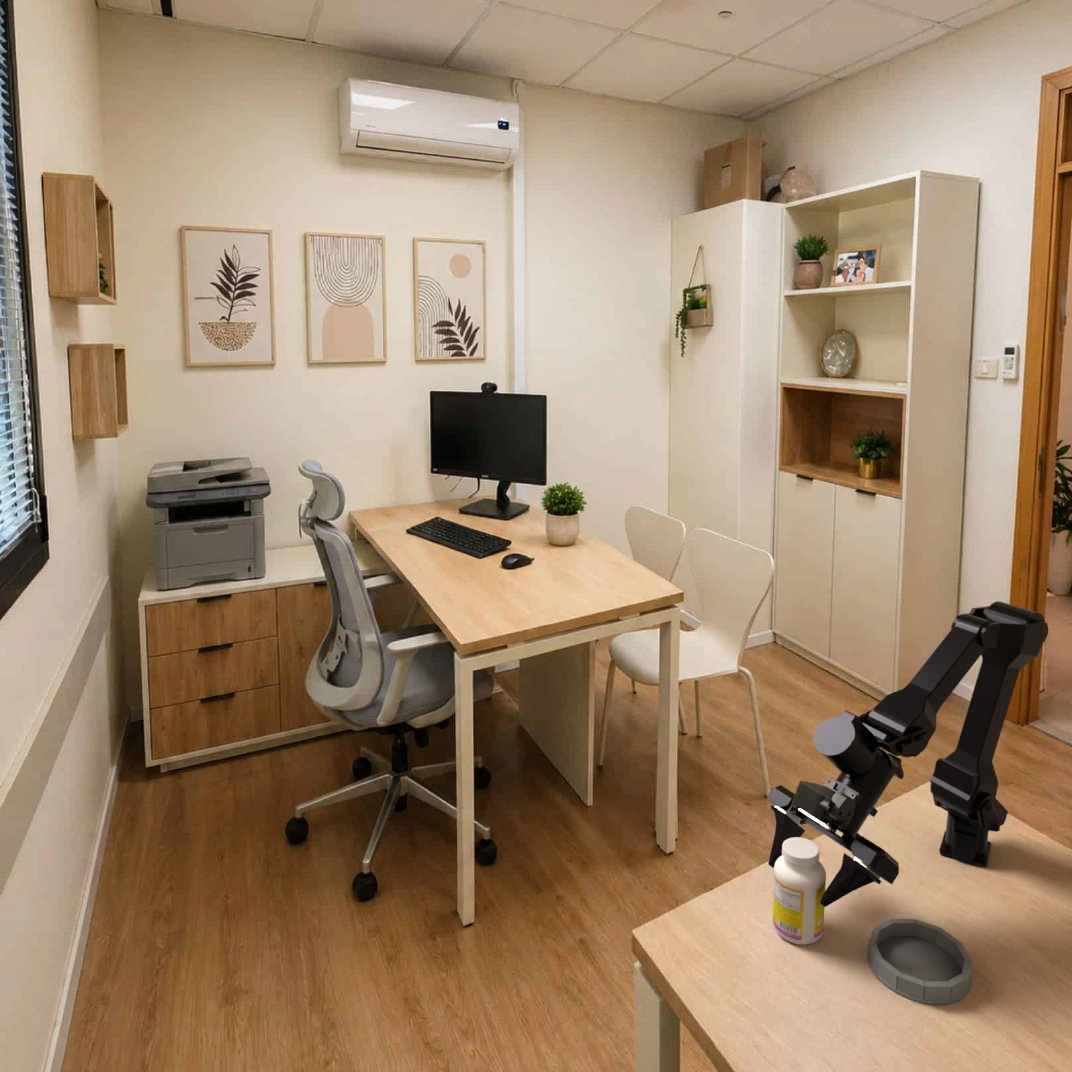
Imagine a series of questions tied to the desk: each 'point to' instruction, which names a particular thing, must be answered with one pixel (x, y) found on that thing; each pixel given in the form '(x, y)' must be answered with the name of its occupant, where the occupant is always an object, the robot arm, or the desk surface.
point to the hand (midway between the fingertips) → (795, 885)
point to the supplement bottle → (799, 892)
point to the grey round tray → (919, 961)
